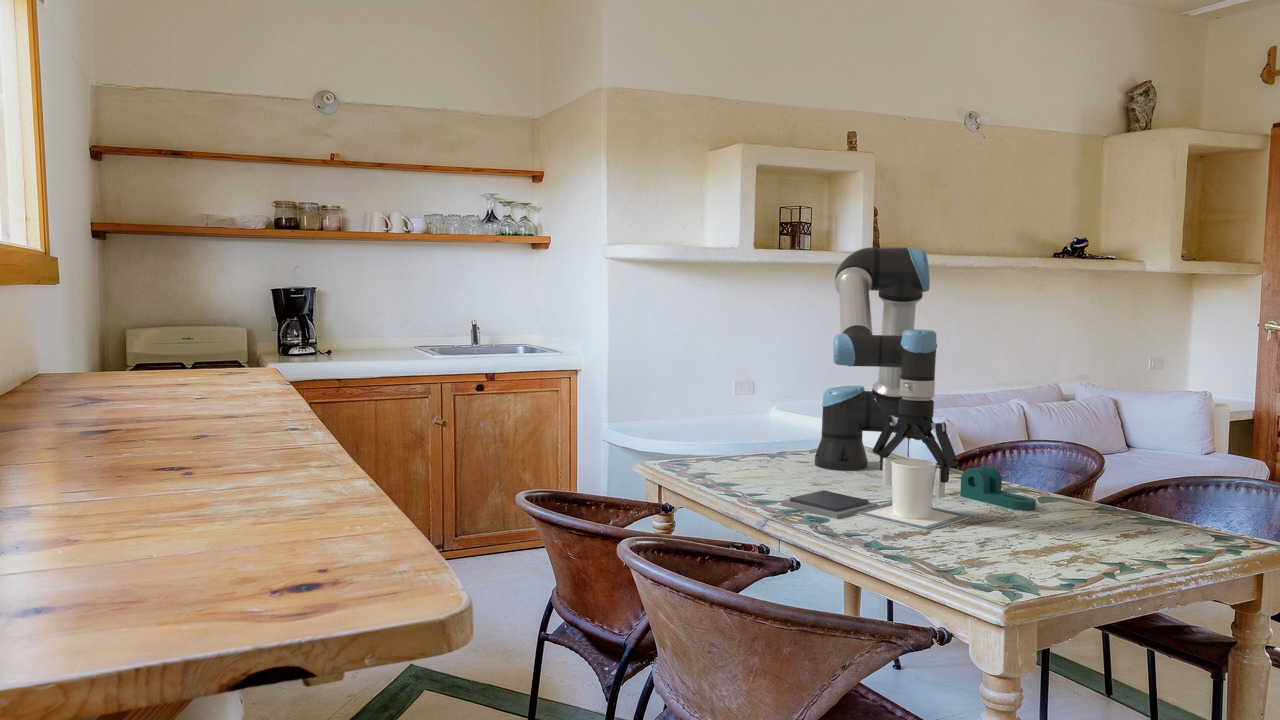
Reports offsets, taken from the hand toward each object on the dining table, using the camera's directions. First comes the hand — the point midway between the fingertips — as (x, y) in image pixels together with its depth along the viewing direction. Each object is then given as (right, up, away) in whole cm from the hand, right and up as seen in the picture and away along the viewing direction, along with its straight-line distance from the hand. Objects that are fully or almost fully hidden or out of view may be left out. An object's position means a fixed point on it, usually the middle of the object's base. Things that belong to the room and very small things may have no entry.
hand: (912, 490), depth 202 cm
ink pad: (-17, -5, +7) cm, 20 cm away
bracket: (+26, -5, +15) cm, 30 cm away
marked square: (0, -6, 0) cm, 6 cm away
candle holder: (0, -6, 0) cm, 6 cm away
